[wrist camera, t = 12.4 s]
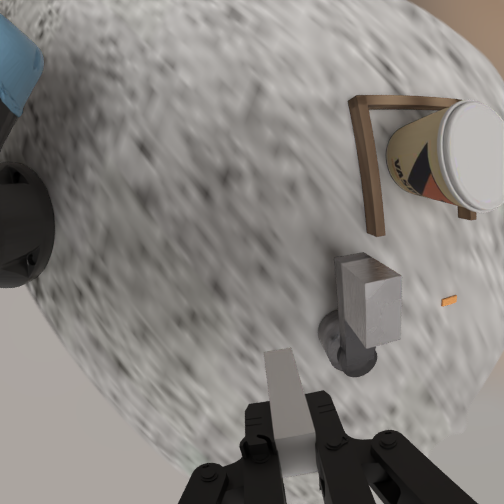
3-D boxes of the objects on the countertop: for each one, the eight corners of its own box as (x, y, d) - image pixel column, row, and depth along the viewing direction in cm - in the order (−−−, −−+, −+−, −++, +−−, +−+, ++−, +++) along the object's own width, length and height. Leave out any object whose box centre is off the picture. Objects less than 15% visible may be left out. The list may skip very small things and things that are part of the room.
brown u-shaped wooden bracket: (367, 232, 31) (376, 236, 29) (347, 101, 28) (356, 95, 26) (464, 216, 31) (476, 219, 29) (449, 103, 28) (461, 99, 26)
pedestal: (319, 352, 34) (330, 376, 29) (316, 314, 33) (327, 334, 28) (359, 343, 34) (375, 364, 29) (358, 305, 33) (376, 323, 28)
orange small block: (441, 305, 34) (442, 306, 33) (441, 299, 34) (443, 300, 33) (455, 301, 34) (456, 302, 33) (455, 295, 34) (456, 295, 33)
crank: (370, 362, 29) (398, 404, 22) (337, 370, 29) (359, 416, 22) (367, 251, 26) (406, 274, 19) (329, 258, 26) (359, 284, 19)
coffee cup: (363, 164, 30) (426, 158, 18) (404, 102, 28) (471, 75, 17) (421, 218, 31) (492, 237, 20) (457, 156, 30) (528, 154, 18)
